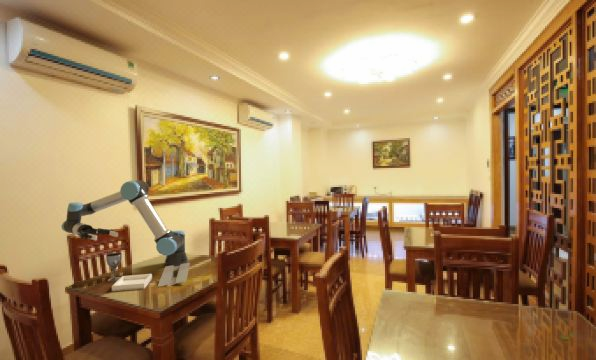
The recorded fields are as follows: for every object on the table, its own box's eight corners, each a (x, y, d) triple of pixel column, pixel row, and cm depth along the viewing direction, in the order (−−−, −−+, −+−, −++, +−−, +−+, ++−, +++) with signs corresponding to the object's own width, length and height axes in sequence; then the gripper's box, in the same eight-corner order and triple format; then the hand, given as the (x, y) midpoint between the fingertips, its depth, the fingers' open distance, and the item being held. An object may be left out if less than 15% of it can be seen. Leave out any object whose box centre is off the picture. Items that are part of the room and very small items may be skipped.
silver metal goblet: (112, 276, 182) (111, 252, 181) (125, 276, 182) (124, 252, 181) (103, 281, 174) (102, 256, 174) (116, 281, 174) (116, 256, 173)
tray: (152, 278, 178) (151, 273, 178) (144, 288, 162) (144, 283, 162) (122, 281, 174) (122, 276, 174) (111, 291, 159) (111, 286, 158)
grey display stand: (191, 288, 172) (194, 266, 183) (186, 281, 166) (189, 258, 177) (163, 294, 171) (167, 271, 182) (157, 286, 165) (162, 263, 176)
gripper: (101, 233, 198) (124, 239, 191) (60, 238, 175) (85, 246, 167) (102, 222, 198) (126, 227, 191) (62, 226, 174) (87, 233, 167)
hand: (107, 236), depth 179 cm, fingers open, 13 cm apart
